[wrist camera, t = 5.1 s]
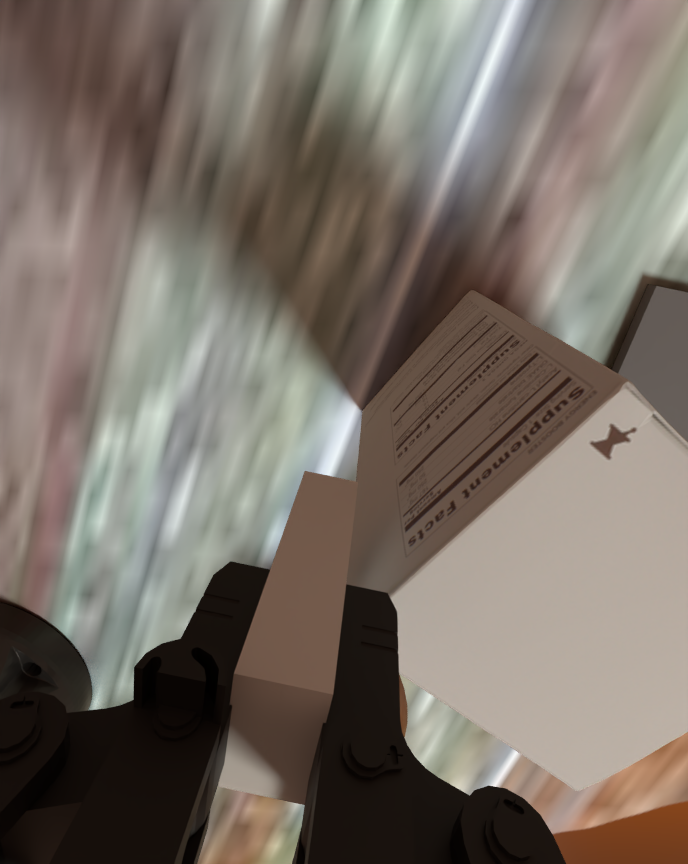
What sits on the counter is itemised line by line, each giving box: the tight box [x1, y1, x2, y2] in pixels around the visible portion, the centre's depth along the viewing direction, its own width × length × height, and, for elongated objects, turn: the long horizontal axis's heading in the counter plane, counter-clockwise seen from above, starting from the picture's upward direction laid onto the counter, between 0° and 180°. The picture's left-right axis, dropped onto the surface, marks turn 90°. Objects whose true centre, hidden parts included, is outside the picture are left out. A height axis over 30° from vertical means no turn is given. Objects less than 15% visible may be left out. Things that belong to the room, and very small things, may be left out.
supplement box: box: [346, 290, 688, 791], centre depth 19 cm, size 10×9×17 cm
